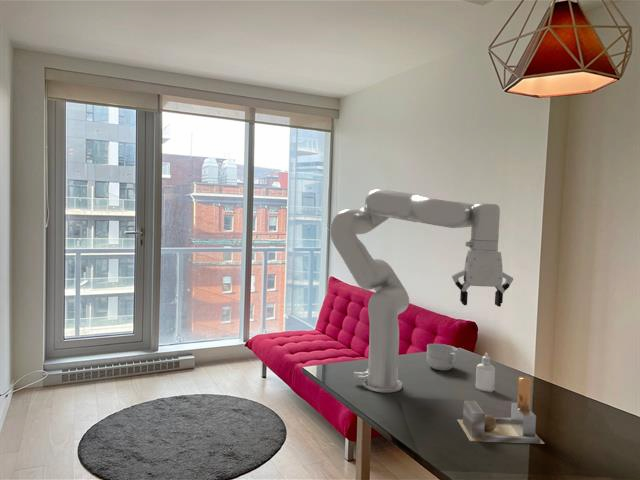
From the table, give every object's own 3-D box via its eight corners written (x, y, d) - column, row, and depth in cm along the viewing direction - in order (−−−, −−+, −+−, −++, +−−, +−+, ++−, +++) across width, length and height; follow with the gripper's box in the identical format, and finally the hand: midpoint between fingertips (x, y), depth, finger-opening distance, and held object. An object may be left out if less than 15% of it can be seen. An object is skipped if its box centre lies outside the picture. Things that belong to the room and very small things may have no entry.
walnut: (483, 434, 121) (481, 419, 120) (478, 427, 125) (476, 412, 124) (499, 433, 121) (497, 417, 120) (493, 426, 125) (492, 411, 124)
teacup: (421, 363, 180) (422, 342, 180) (448, 363, 182) (449, 342, 182) (437, 376, 167) (438, 353, 166) (466, 375, 169) (467, 353, 168)
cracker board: (469, 446, 117) (471, 416, 116) (456, 424, 129) (458, 397, 128) (544, 449, 116) (546, 419, 116) (524, 427, 128) (525, 399, 128)
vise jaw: (522, 437, 118) (525, 383, 118) (510, 423, 126) (513, 372, 126) (534, 438, 118) (537, 384, 118) (521, 423, 126) (524, 373, 126)
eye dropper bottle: (486, 393, 152) (488, 356, 151) (473, 387, 157) (474, 351, 156) (496, 391, 154) (498, 354, 153) (482, 385, 159) (484, 350, 158)
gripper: (457, 246, 135) (454, 306, 136) (519, 248, 135) (515, 308, 136) (450, 244, 143) (447, 301, 144) (509, 246, 142) (506, 303, 143)
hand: (480, 305), depth 140 cm, fingers open, 9 cm apart
